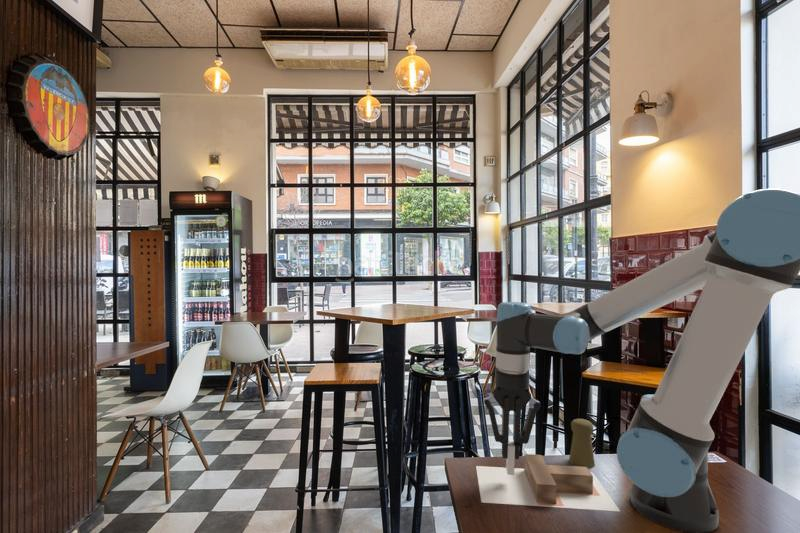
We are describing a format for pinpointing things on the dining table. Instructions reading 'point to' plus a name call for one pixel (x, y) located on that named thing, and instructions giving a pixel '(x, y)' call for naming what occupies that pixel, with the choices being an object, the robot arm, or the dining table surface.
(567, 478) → the t block
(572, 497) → the mat
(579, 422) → the olive pepper mill
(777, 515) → the dining table surface
